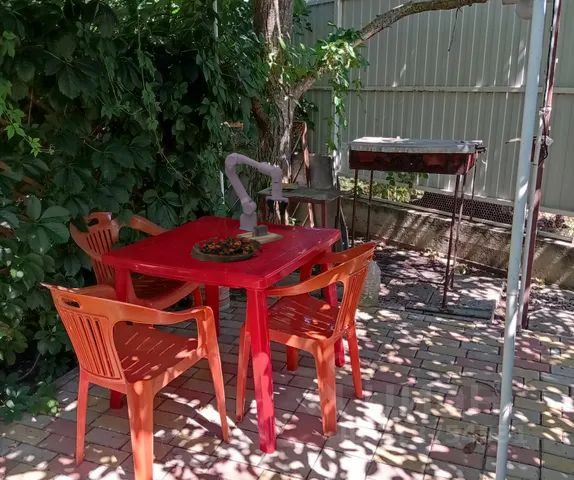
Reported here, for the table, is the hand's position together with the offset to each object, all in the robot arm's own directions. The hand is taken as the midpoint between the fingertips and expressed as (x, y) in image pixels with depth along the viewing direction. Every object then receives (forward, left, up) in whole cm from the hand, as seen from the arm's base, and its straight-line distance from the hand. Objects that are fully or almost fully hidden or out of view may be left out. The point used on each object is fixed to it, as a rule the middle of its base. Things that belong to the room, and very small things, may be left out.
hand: (277, 213), depth 328 cm
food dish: (+17, -49, -10) cm, 53 cm away
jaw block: (+7, -19, -8) cm, 21 cm away
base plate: (+7, -19, -9) cm, 22 cm away
